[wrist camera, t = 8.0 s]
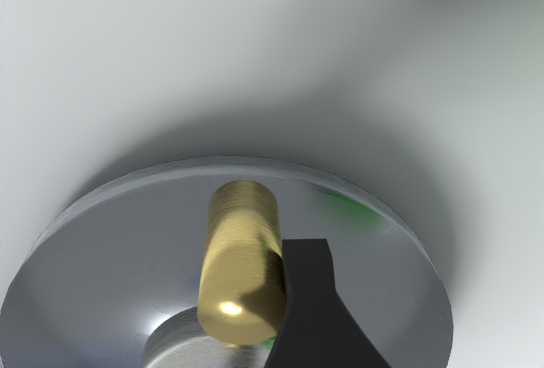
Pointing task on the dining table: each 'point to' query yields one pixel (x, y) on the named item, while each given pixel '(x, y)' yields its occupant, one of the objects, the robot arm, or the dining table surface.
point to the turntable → (216, 265)
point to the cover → (198, 347)
